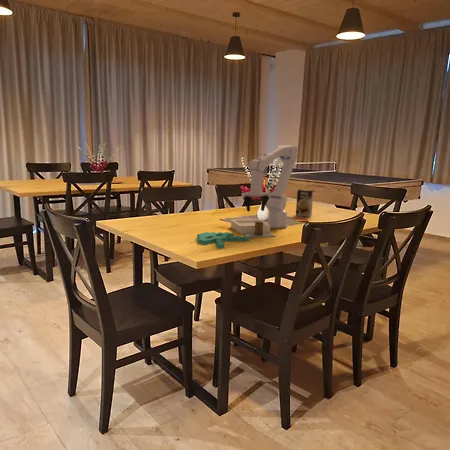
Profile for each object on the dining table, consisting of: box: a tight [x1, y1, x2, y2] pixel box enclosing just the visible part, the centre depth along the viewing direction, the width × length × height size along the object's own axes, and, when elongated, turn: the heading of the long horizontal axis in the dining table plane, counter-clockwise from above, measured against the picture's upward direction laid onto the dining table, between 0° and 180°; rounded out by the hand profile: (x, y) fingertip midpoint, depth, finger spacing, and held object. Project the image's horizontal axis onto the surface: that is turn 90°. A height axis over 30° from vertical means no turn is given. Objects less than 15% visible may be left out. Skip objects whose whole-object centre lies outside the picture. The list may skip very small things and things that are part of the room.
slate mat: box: [242, 232, 276, 239], centre depth 199 cm, size 14×7×1 cm, turn 106°
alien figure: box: [196, 231, 250, 250], centre depth 187 cm, size 20×2×20 cm
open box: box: [230, 218, 271, 235], centre depth 210 cm, size 16×16×4 cm
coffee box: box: [295, 188, 315, 218], centre depth 253 cm, size 9×6×16 cm
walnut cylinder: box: [254, 222, 263, 236], centre depth 198 cm, size 4×4×6 cm
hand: (255, 210), depth 207 cm, fingers open, 7 cm apart
